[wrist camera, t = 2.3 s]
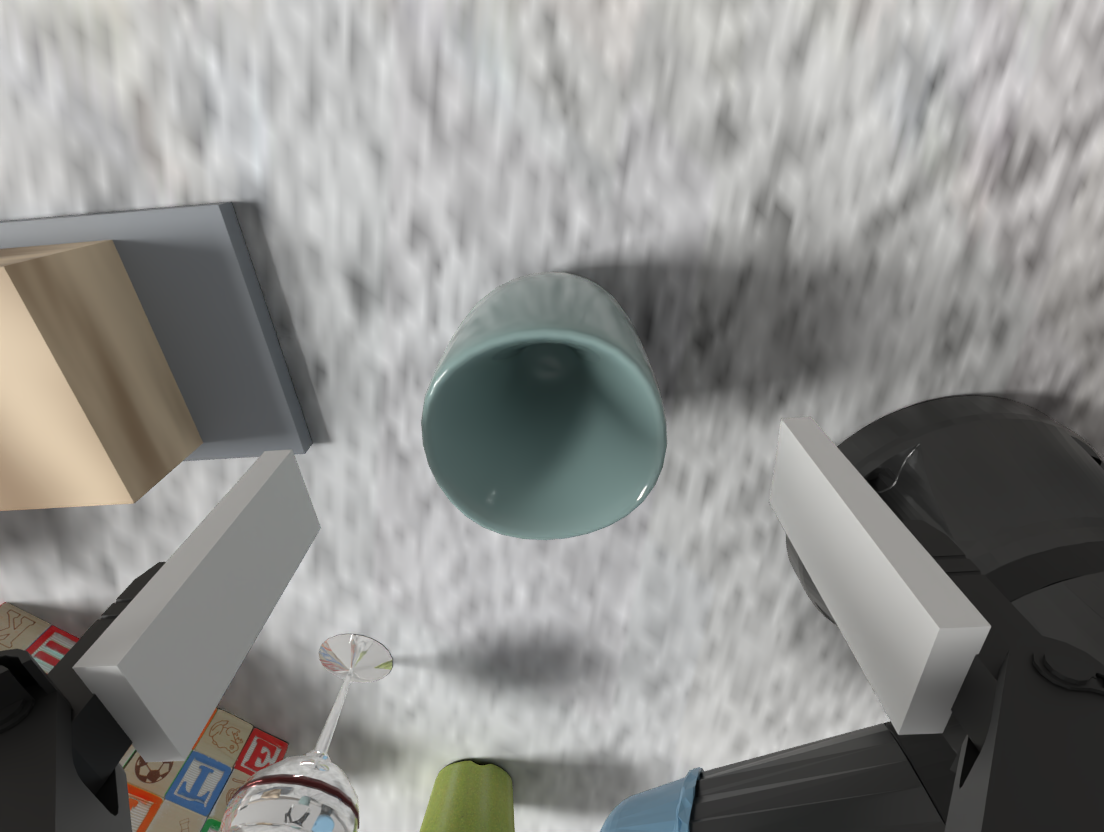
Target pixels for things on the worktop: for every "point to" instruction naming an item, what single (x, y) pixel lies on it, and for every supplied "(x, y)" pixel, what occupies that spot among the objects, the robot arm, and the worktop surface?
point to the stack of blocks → (175, 786)
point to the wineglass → (311, 761)
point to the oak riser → (82, 383)
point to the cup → (545, 411)
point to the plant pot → (470, 800)
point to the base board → (198, 318)
